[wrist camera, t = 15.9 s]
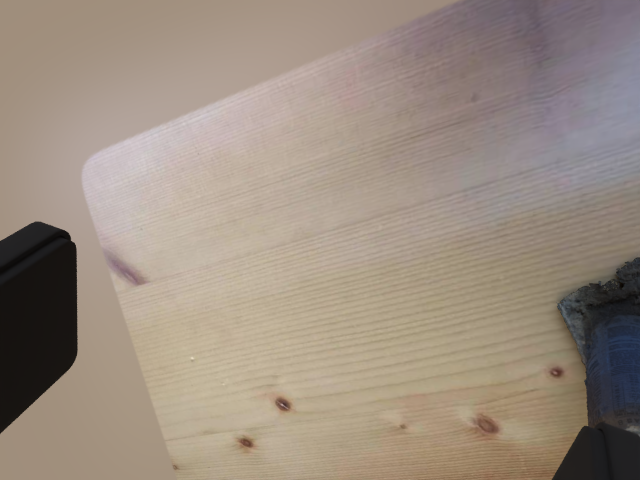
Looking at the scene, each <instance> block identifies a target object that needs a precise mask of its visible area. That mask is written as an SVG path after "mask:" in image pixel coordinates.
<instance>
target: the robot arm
mask: <svg viewBox="0 0 640 480" xmlns="http://www.w3.org/2000/svg"><path fill="white" fill-rule="evenodd" d="M76 257H77V255H76V245H75V243H74V242H72V241H71V237H70V235H69V233H68V232H66V231H65V230H62V229H59V228H56V227H53V226H51V225H48V224H45V223H42V222H34V223H31V224H29V225H28V226H26V227H24V228H22V229H21V230H19V231H17V232H15V233H14V234H12V235H10V236H8V237H7V238H5V239H3V240H1V241H0V433H1V432H3V431H4V430H5V429H6V428H7V427H8V426H9V425H10V424H11V423H12V422H13V421H14V420H15V419H16V418H18V417H19V416H20V415H21V414H22V413H23V412H24V411H25V410H26V409H27V408H28V407H29V406H30V405H31V404H32V403H34V402H35V400H37V399H38V398H39V397H40V396H41V395H42V394H43V393H44V392H45V391H46V390H47V389H48V388H50V386H52V385H53V384H54V383H55V382H56V381H57V380H58V379H59V378H60V377H61V376H62V375H63V374H64V373H65V372H67V371H68V370H69V369H70V367H71V366H72V365H73V363H74V361H75V359H76V356H77V263H76V262H77V260H76V259H77V258H76ZM552 480H640V436H639V435H638V434H636V433H633V432H630V431H627V430H624V429H621V428H619V427H616V426H613V425H610V424H607V423H605V422H599V423H598V424H597V425H596V426H595V427H594V428H591V427H589V426H584V427H583V428H582V429H581V431H580V432H579V434H578V436H577V437H576V439H575V441H574V442H573V444H572V446H571V448H570V449H569V451H568V453H567V454H566V456H565V458H564V460H563V461H562V463H561V465H560V467H559V468H558V470H557V472H556V473H555V475H554V477H553V479H552Z"/></svg>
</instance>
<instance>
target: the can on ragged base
mask: <svg viewBox="0 0 640 480" xmlns="http://www.w3.org/2000/svg"><path fill="white" fill-rule="evenodd" d="M625 263H627V266H624V267H622V268H621V270H620V269H616V270H618V272H616V273H617V276H620V277H618V278H620V279H619V281H620V282H622V283H625V284H626V285H625V284H624V286H625V287H623V288H622V290H620V289H619V288H620V286H619V285H620V284H619V283H618V285H616V283H615V279H614V284H613V283H612V282H613V281H612V282H611V281H608V283H606V285H602V286H601V281H599V284H590V287H587V286H585V287H582V288H581V289H578V291H576V293H574V292H573V294H571V295H568V296H567V297H566V298H564V299H563V300H562V301H561V302H564V303H562V304H559V303H557V304H558V306H557V307H558V309H559V310H560V311H561V315H562V316H563V318H564V321H565V323H566V325H567V327H568V329H569V331H570V332H571V334H572V337H573V339H574V340H575V342H576V343H577V347H578V351H579V354H581V357H582V362H583V363H584V364H585V365H586V376H587V378H586V380H585V385H586V389H587V407H588V408H587V409H588V415H587V416H588V426H589V427H591V428H594V427H595V426H596V425H597V424H598V423H599V422H605V423H607V424H610V425H613V426H616V427H619V428H621V429H624V430H627V431H630V432H633V433H636V434H638V435H639V436H640V258H636V259H634V262H632V263H631V262H628V261H627V262H625ZM616 281H618V280H617V279H616ZM611 283H612V284H611ZM611 285H612V286H611ZM604 286H606V288H604ZM616 286H618V287H617V289H615V288H616ZM613 287H614V289H613ZM603 288H604V289H607V288H608V289H609V290H608V291H605V290H603ZM613 290H614V291H613Z"/></svg>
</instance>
